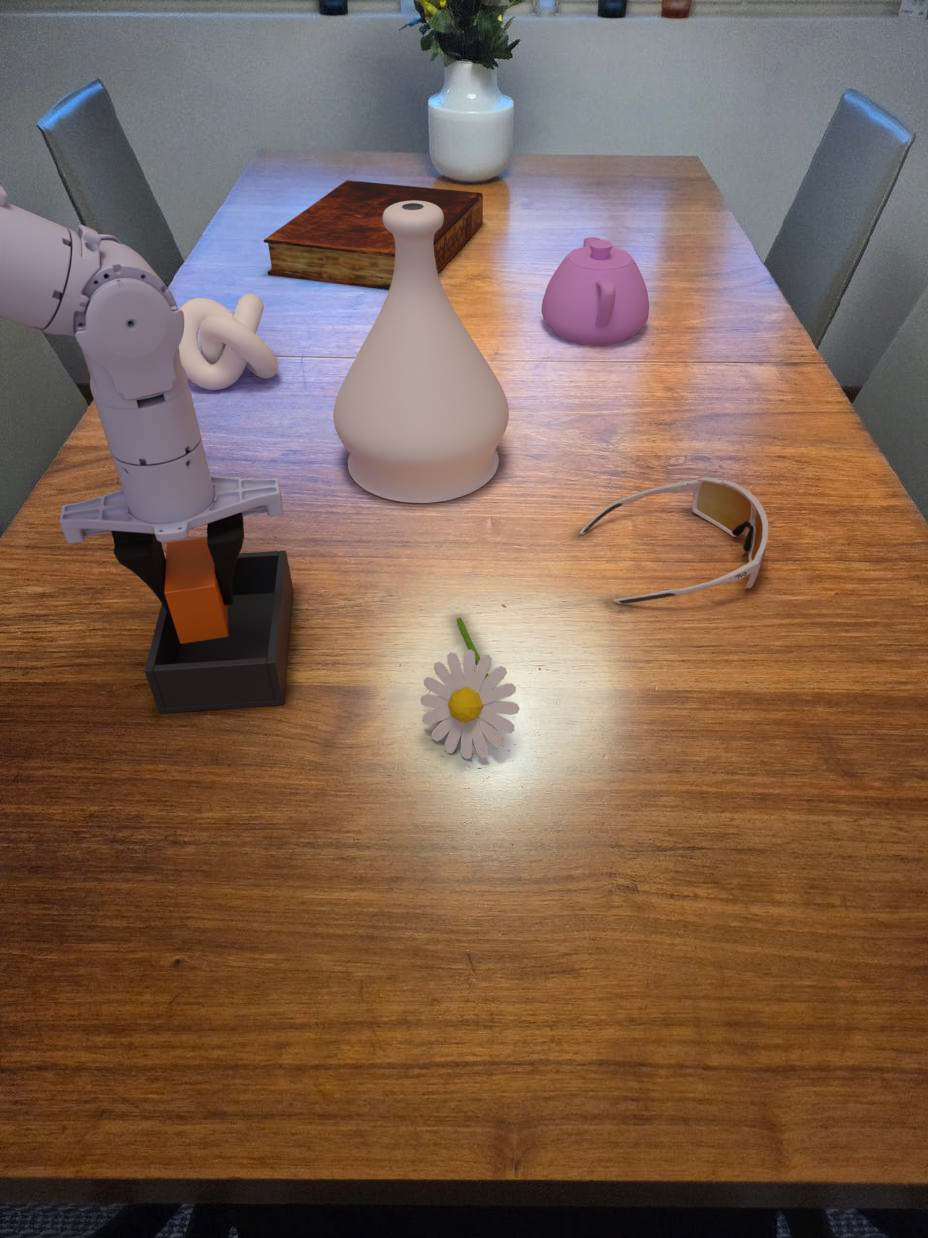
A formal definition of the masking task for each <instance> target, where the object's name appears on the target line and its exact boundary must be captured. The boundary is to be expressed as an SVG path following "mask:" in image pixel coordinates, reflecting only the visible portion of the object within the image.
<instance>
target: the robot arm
mask: <svg viewBox="0 0 928 1238" xmlns="http://www.w3.org/2000/svg"><path fill="white" fill-rule="evenodd" d="M8 198H9V195H8V193H7V192H6V191H5V189H4V187H3V186H1V185H0V318H2V319H4V320H8V321H10V322H13V323H17V324H19V325H22V326H25V327H28V328H31V329H34V330H37V331H40V332H42V333H45V334H49V335H57V336H69V337H74V338H75V339H76V341H77V344H78V345H79V347H80V348H81V352H82V354H83V357H84V361H85V363H86V367H87V369H88V373H89V377H90V378H89V389H90V392H91V395H92V398H93V401H94V405H95V408H96V410H97V411H96V412H97V414H98V417H99V420H100V423H101V426H102V430H103V432H104V435H105V439H106V442H107V445H108V448H109V451H110V454H111V458H112V461H113V464H114V467H115V470H116V473H117V477H118V480H119V482H120V485H121V488H122V489H119V490H116V491H113V492H110V493H107V494H103V495H100V496H97V497H93V498H90V499H87V500H83V501H78V502H74V503H67V504H62V506H61V511H60V513H59V514H60V515H59V520H58V522H59V525H60V528H61V530H62V532H63V535H64V538H65V540H66V543H67V545H70V544H71V545H73V544H79V543H83V542H85V540H86V537H90V536H91V537H92V536H98V535H99V536H100V535H105V534H111V537H112V539H113V545H114V546H113V554H114V557H115V559H116V560H117V562H118V563H119V565H122V566H123V567H125V568H126V569H128V570H129V571H131V572H132V573H133V574H134V575H135V576H137V577H138V578H139V579H141V581H142V582H144V584H146V585H147V587H148V588H149V589H150V590H151V591H152V592H153V593H154V595H155V596H156V597H157V599H158V600H159V602H160V603H161V604H163V606H164V607H165V609H166V611H167V613H171V612H170V609H169V606H168V603H167V600H166V596H165V593H164V592H165V570H166V555H165V552H164V547H163V543H165V542H166V543H167V542H174V541H182V540H186V539H187V538H188V536H189V534H190V530H193V529H196V528H199V527H202V526H204V525H206V526H207V528H206V537H207V545H208V548H209V551H210V553H211V556H212V559H213V562H214V565H215V568H216V571H217V575H218V579H219V586H220V593H221V596H222V599H223V602H224V605H230V604H233V587H232V580H233V574H234V569H235V565H236V561H237V558H238V555H239V553H241V550H242V548H243V545H244V540H245V523H244V516H249V515H257V514H264V513H267V516H268V517H270V518H275V517H283V516H284V515H285V513H284V505H283V504H284V503H283V498H282V491H281V486H280V481H279V478H278V477H273V478H261V479H260V478H259V479H258V478H239V477H226V476H224V477H223V476H212V475H211V473H210V469H209V464H208V459H207V456H206V452H205V447H204V443H203V438H202V435H201V430H200V426H199V421H198V417H197V413H196V408H195V404H194V401H193V396H192V393H191V387H190V384H189V379H188V378H187V375H186V371H185V369H184V367H183V366H182V364H181V360H180V354H179V345H180V342H181V340H182V337H183V333H184V313H183V311H182V310H178V309H179V307H178V304H177V302H176V299H175V297H174V295H173V293H172V291H171V290H170V289H169V288H168V286H167V285H166V284H165V283H164V281H163V280H162V279H161V278H160V276H159V275H158V274H157V272H156V271H154V269H153V268H152V267H151V266H150V264H149V263H148V262H147V261H146V260H145V259H144V257H143V256H142V255H141V254H139V253H138V252H137V251H135V250H134V249H133V248H132V247H130V246H128V245H127V244H124V243H122V242H121V241H120V240H119V239H118V238H117V237H116V236H114V235H112V234H104V233H102V234H101V233H98V231H96V230H95V229H93V228H90V227H88V226H86V225H83V224H79V225H78V226H77V229H76V230H73V229H71V228H69V227H65V226H63V225H61V224H59V223H57V222H54V221H51V220H50V219H47V218H45V217H43V216H41V215H38V214H35V213H34V212H31V211H28V210H26V209H25V208H21V207H19V206H17V205H14V204H12V203H10V202H8Z"/></svg>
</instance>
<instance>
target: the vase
mask: <svg viewBox="0 0 928 1238" xmlns="http://www.w3.org/2000/svg"><path fill="white" fill-rule="evenodd" d="M443 221H444V215H443V212H442V210H441V209H440V208H439V207H438V206H437V205H435V204H432V203H429V202H425V201H403V202H398V203H395V204H393V205H391V206H389V207H388V208H386V210H385V211H384V213H383V224H384V226H385V227H386V229H387V230H388V231H390V232H391V233H392V234H393V236H394V239H395V265H394V273H393V278H392V283H391V286H390V289H389V290H388V292H387V295H386V297H385V299H384V302H383V304H382V306H381V308H380V311H379V312H378V314H377V316H376V318H375V320H374V323H373V324H372V326H371V329H370V330H369V332H368V335H367V336H366V338H365V340H364V342H363V344H362V345H361V347H360V349H359V351H358V353H357V354H356V356H355V358H354V360H353V362H352V364H351V365H350V368H349V369H348V371H347V373H346V375H345V377H344V380H343V382H342V383H341V385H340V388H339V390H338V392H337V396H336V398H335V401H334V406H333V414H332V415H333V416H332V417H333V425H334V429H335V432H336V434H337V436H338V439H339V440H340V442H341V443H342V445H343V446H344V448H345V449H346V451H347V452H348V453H349V456H348V458H347V469H348V472H349V475H350V477H351V478H352V479H353V481H354V482H355V483H356V484H357V485H358V486H359V487H361V488H362V489H363V490H365V491H367V492H368V493H370V494H372V495H374V496H378V497H380V498H383V499H386V500H391V501H395V502H402V503H410V504H429V503H430V504H431V503H439V502H446V501H450V500H451V501H452V500H454V499H458V498H462V497H464V496H467V495H470V494H472V493H473V492H475V491H478V490H479V489H480V488H482V487H483V486H485V485H486V484H488V482H489V481H491V479H492V478H493V477H494V476H495V475H496V472H497V471H498V468H499V463H500V462H499V461H500V458H499V453H498V451H497V447H498V446H499V444H500V442H501V441H502V439H503V438H504V435H505V433H506V431H507V427H508V424H509V416H510V415H509V414H510V411H509V410H510V409H509V403H508V399H507V396H506V394H505V391H504V389H503V387H502V385H501V383H500V381H499V380H498V377H497V376H496V374H495V372H494V371H493V369H492V367H491V366H490V364H489V362H487V360H486V358H485V356H484V355H483V353H482V352H481V350H480V349H479V347H478V346H477V344H476V342H475V341H474V339H473V338H472V336H471V334H470V333H469V332H468V330H467V328H466V327H465V325H464V323H463V321H462V320H461V319H460V317H459V315H458V314H457V311H455V309H454V307H453V305H452V303H451V302H450V300H449V297H448V296H447V294H446V291H445V290H444V287H443V284H442V282H441V280H440V276H439V273H438V272H437V268H436V262H435V256H434V245H433V240H434V235H435V233H436V231H438V230H439V229H440V228H441V226H442V224H443Z"/></svg>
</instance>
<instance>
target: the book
mask: <svg viewBox="0 0 928 1238" xmlns="http://www.w3.org/2000/svg"><path fill="white" fill-rule="evenodd" d="M403 201H425V202H429V203H432V204H435V205H437V206H438V207H439V208H440V209H441V210H442V212H443V215H444V221H443V224H442V226H441V228H440V229H439V230H438V231H436V233H435V235H434V240H433V245H434V256H435V262H436V268H437V272H438V274H439V273H440V272H441V271H442V270H443V269H444V268H445V267H446V265H448V264H449V262H450V261H451V260H453V258H454V257H455V256H456V254H457V253H458V252H459V251H460V250H461V249H462V248H463V246H465V244H467V243H468V241H469V240H470V239H471V238H472V237H473V235H474V234H475V233H476V232H478V230H479V229H480V228H481V227H482V226H483V222H484V221H483V219H484V217H483V215H484V195H483V192H479V191H478V192H477V191H466V190H455V189H447V188H436V187H425V186H414V185H402V184H392V183H381V182H371V181H370V182H369V181H362V180H361V181H360V180H351V179H350V180H349V179H346V180H345V181H343V182H342V183H340V184H339V185H338V186H337V187H335V188H334V189H333V190H331V191H330V192H328V193H327V194H326V195H324V196H323V197H321V198H320V199H318V200H317V201H315V202H314V203H313V204H312V205H310V206H308V207H307V208H306V209H305V210H303V211H301V212H300V213H299V214H297V215H296V216H295V217H294V218H291V220H289V221H288V222H287V223H285V224H284V225H282V226H281V227H279V228H278V229H277V230H275V231H274V232H272V233H270V234H269V235H268V236H267V237H265V238H264V239H263V243H266V244H267V245H268V254H269V258H270V266H271V269H270V270H269V271H267V275H268V276H273V277H274V276H275V277H281V278H282V277H283V278H288V279H289V278H290V279H298V280H306V281H314V282H323V283H330V284H339V285H347V286H354V287H363V288H370V289H371V288H372V289H378V290H387V291H389V289H390V286H391V283H392V278H393V273H394V265H395V239H394V236H393V234H392V233H391V232H390V231H388V230H387V229H386V227H385V226H384V224H383V213H384V211H385V210H386V208H388V207H389V206H391V205H393V204H395V203H398V202H403Z"/></svg>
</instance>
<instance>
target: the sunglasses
mask: <svg viewBox="0 0 928 1238" xmlns="http://www.w3.org/2000/svg"><path fill="white" fill-rule="evenodd" d="M686 491H687V492H688V491H693V494H692V501H691V502H692V503H691V511H692V512H693V513H694V514H696V515H697V516H699V517H701V518H702V519H704V520H706V521H707V522H708V523H711V524H713V525H714V526H716V527H718V528H719V529H720V530H722V531H724V532H725V533H727V534H728V535H730V536H731V537H732V538H737V537H740V536H742V535H743V534H745V533H746V532H747V534H746V536H745V540H744V544H743V548H742V549H743V550H744V551H745V552H747V553H748V556H747V559H748V562H747V563H746V564H743V565H742V566H740V567H738V568H737V569H736V568H735V570H732V571H730V572H729V573H728V572H727V573H726V574H725V575H722V576H720V577H717V578H714V579H712V580H709V581H706V582H703V583H700V584H696V585H691V586H688V587H687V586H686V587H680V588H673V589H667V590H666V589H665V590H662V591H656V592H650V593H645V594H639V595H633V596H625V597H619V598H615V599H613V600H612V601H613V602H614V603H616V604H619V605H626V604H634V603H641V602H647V601H648V602H649V601H654V600H661V599H666V598H673V597H681V596H688V595H693V594H696V593H697V592H701V591H704V590H706V589H710V588H713V587H715V586H719V585H723V584H728V583H733V582H738V581H740V580H741V579H743V578H745V577H746V576H748V575H749V577H748V580H747V583H746V585H745V586H744V588H745V589H751V588H752V587H753V586H754V584H755V582H756V580H757V577H758V575H759V572H760V570H761V568H762V565H763V563H764V559H765V553H766V549H767V546H768V541H769V536H770V534H769V533H770V531H769V530H770V525H769V524H770V523H769V519H768V515H767V513H766V510H765V508H764V507H763V505H762V503H761V502H760V500H759V499H758V498H757V497H756V495H754V494H753V493H752V492H750V491H749V490H748V489H746V488H744V487H743V486H742V485H740V484H737V483H735V482H734V481H731V480H728V479H718V478H714V477H708V476H703V477H700V478H697V479H691V480H683V481H678V482H672V483H668V484H665V485H661V486H657V487H653V488H650V489H646V490H643V491H640V492H638V493H635V494H631V495H629V496H625V497H623V498H620V499H618V500H616V501H614V502H611V504H609V505H607V506H606V507H605V508H604V509H602V510H601V511H600V512H598V513H597V514H596V515H594V517H593V518H591V519H590V520H589V522H588V523H586V525H584V526H583V527H582V529H580V531H579V532H578V533H579V535H581V536H582V535H583V536H584V535H585V534H586V533H587V532H588V531H590V529H591V528H592V527H593V526H595V524H597V523H598V522H599V521H600V520H602V519H603V518H604V517H606V516H607V515H608V514H609V513H611V512H613V511H615V510H616V509H618V508H620V507H623V506H625V505H628V504H633V503H635V502H637V501H640V500H641V499H643V498H646V497H649V496H653V495H657V494H663V493H665V494H667V493H672V494H679V493H682V492H686Z"/></svg>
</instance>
